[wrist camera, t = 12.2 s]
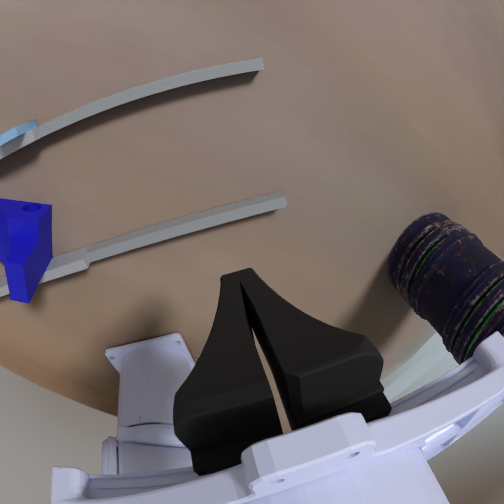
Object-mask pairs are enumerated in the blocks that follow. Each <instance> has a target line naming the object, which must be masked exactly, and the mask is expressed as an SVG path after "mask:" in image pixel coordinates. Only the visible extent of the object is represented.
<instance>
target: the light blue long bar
mask: <svg viewBox="0 0 504 504" xmlns="http://www.w3.org/2000/svg"><path fill="white" fill-rule="evenodd" d="M36 127H38V125H37V122H36V120H34V121H31V122H28V123H25V124H22V125H19V126H16V127H14V128H13V129H11V130H9V131H7V132H6V133H4V134H2V135H1V136H0V147H1V146H2V145H4V144H6V143H8V142H9V141H11V140H13V139H15V138H16V137H18V136H20V135H22V134H24V133H26V132H28V131H29V130H31V129H34V128H36Z"/></svg>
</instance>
